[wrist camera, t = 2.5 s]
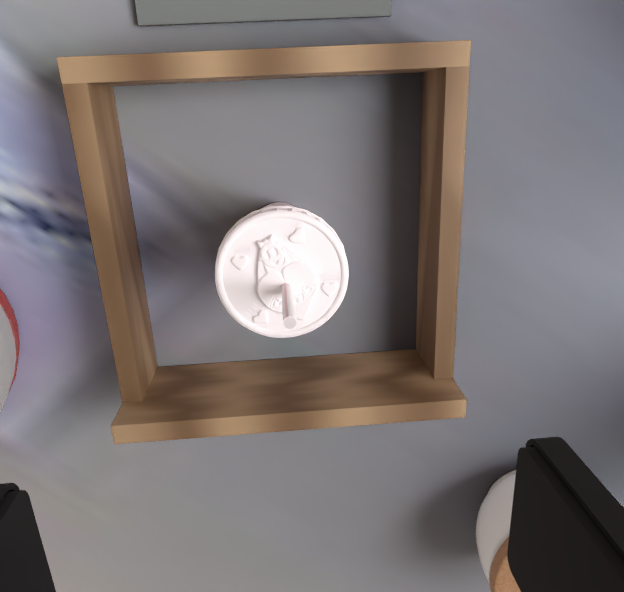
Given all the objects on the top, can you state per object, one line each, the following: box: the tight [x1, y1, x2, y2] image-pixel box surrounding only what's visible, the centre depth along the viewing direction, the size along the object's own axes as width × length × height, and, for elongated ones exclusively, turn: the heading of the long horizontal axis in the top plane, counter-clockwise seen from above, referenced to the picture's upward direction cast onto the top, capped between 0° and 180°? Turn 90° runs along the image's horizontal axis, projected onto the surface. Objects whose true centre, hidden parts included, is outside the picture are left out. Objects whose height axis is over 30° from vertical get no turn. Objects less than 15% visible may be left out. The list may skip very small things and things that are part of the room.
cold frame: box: [57, 40, 471, 444], centre depth 31 cm, size 20×20×7 cm
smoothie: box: [215, 202, 349, 338], centre depth 27 cm, size 6×6×14 cm
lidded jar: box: [476, 470, 521, 592], centre depth 38 cm, size 11×11×9 cm
